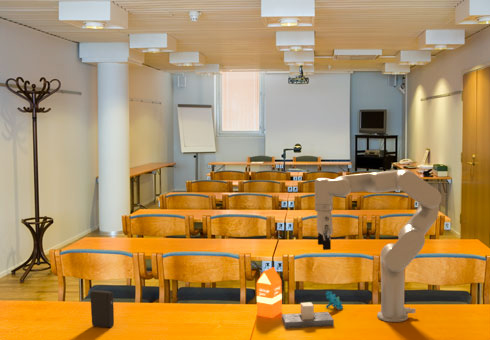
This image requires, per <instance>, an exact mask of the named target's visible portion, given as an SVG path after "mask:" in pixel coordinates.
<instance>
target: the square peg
mask: <svg viewBox="0 0 490 340" xmlns="http://www.w3.org/2000/svg"><path fill="white" fill-rule="evenodd" d="M314 309H315V306H314V304H313V303H312V301H311V302H310V301H309V302H300V313H301V320H308V319H314V313H315V312H314V311H315V310H314Z"/></svg>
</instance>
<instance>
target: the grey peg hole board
mask: <svg viewBox="0 0 490 340" xmlns="http://www.w3.org/2000/svg"><path fill="white" fill-rule="evenodd" d="M281 321H282V323H283V325H284V328H285V329H297V328H298V329H299V328H317V327H334V326H335V325H334V322H335V321H334V319H333V317H332V315H331V314H330V313H329V312H328V311H323V312H319V311H318V312H314V319H308V320H301V312H299V313H284V314H283V313H282V314H281Z"/></svg>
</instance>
